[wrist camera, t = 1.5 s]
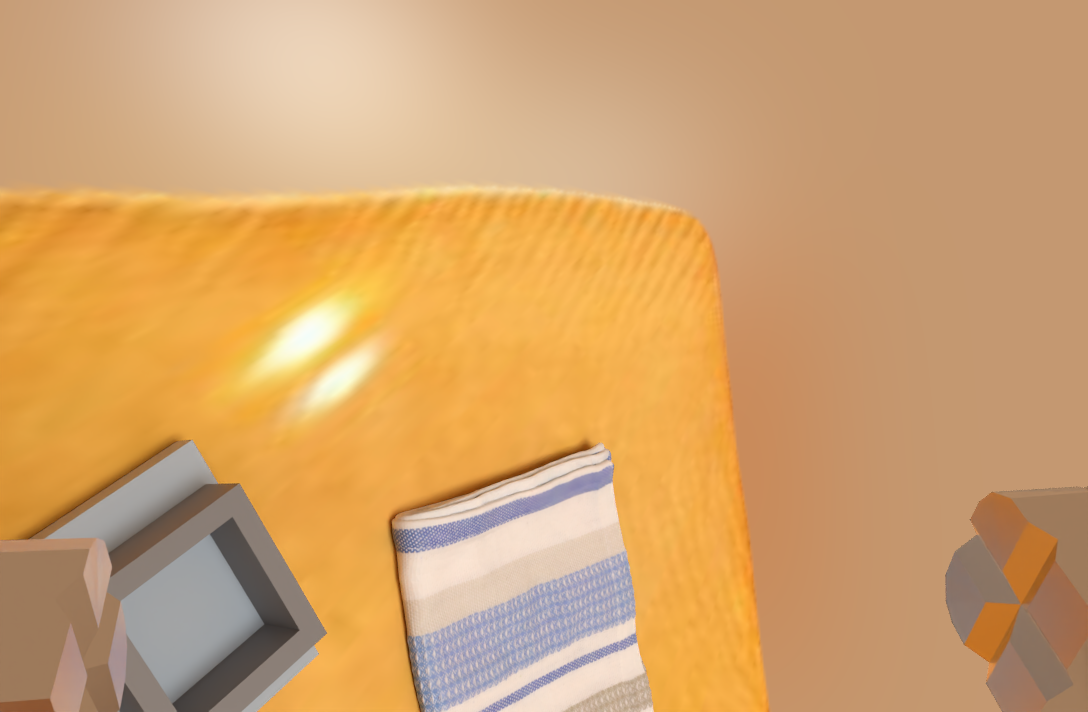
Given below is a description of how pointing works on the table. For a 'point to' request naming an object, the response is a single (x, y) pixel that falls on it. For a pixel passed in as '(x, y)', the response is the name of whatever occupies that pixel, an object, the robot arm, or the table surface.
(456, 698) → the dish towel
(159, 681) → the plate
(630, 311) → the table surface
